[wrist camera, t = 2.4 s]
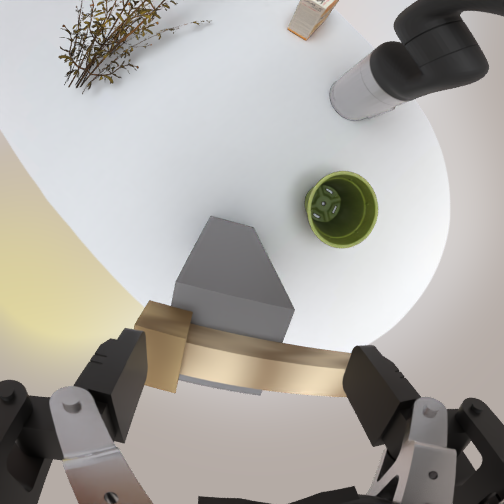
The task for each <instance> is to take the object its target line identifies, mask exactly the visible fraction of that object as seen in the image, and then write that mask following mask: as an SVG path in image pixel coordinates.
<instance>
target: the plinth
mask: <svg viewBox="0 0 504 504" xmlns="http://www.w3.org/2000/svg"><path fill="white" fill-rule="evenodd" d="M171 306H172V307H176V308H180V309H183V310H187V311H191V312H193V314H192V318H191V324H195V325H199V326H203V327H207V328H211V329H216V330H220V331H224V332H229V333H234V334H238V335H243V336H248V337H253V338H258V339H263V340H268V341H274V342H279V343H282V342H283V340H284V337H285V334H286V332H287V329H288V327H289V324H290V321H291V319H292V316H293V313H294V311H295V309H294V307H293V305H292V303H291V301H290V299H289V297H288V295H287V293H286V291H285V289H284V287H283V285H282V283H281V281H280V279H279V277H278V275H277V273H276V271H275V269H274V267H273V265H272V263H271V261H270V259H269V257H268V255H267V253H266V251H265V249H264V247H263V245H262V243H261V241H260V239H259V237H258V235H257V234H256V232H255V230H254V228H253V227H250V226H246V225H243V224H239V223H235V222H232V221H228V220H224V219H220V218H216V217H213V216H211V217H210V218H209V220H208V222H207V224H206V226H205V227H204V229H203V231H202V233H201V235H200V237H199V238H198V240H197V242H196V244H195V246H194V248H193V250H192V251H191V253H190V255H189V257H188V259H187V261H186V263H185V265H184V267H183V268H182V270H181V272H180V274H179V276H178V278H177V280H176V283H175V288H174V293H173V298H172V303H171ZM178 380H181V381H185V382H189V383H193V384H198V385H203V386H207V387H213V388H217V389H223V390H228V391H234V392H240V393H246V394H253V395H261V393H262V390H260V389H253V388H247V387H240V386H235V385H229V384H224V383H218V382H213V381H208V380H204V379H199V378H195V377H190V376H186V375H182V374H179V379H178Z"/></svg>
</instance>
